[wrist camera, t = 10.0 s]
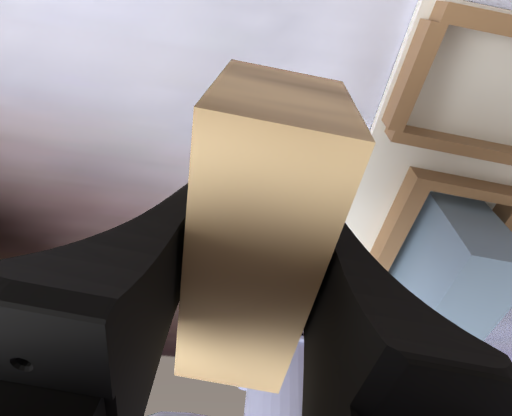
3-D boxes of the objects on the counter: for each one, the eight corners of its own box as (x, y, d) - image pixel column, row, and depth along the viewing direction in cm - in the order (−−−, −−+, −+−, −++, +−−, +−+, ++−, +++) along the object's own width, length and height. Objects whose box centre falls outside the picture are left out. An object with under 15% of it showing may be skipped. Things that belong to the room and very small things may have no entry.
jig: (460, 325, 28) (472, 347, 26) (308, 296, 28) (309, 317, 26) (676, 45, 17) (723, 52, 15) (421, -8, 16) (437, -7, 14)
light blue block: (427, 291, 26) (461, 366, 21) (381, 283, 25) (403, 356, 20) (484, 201, 21) (544, 268, 16) (428, 190, 21) (471, 255, 16)
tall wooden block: (281, 284, 16) (278, 393, 11) (205, 270, 16) (174, 375, 11) (342, 81, 11) (375, 142, 7) (231, 59, 11) (194, 107, 6)
